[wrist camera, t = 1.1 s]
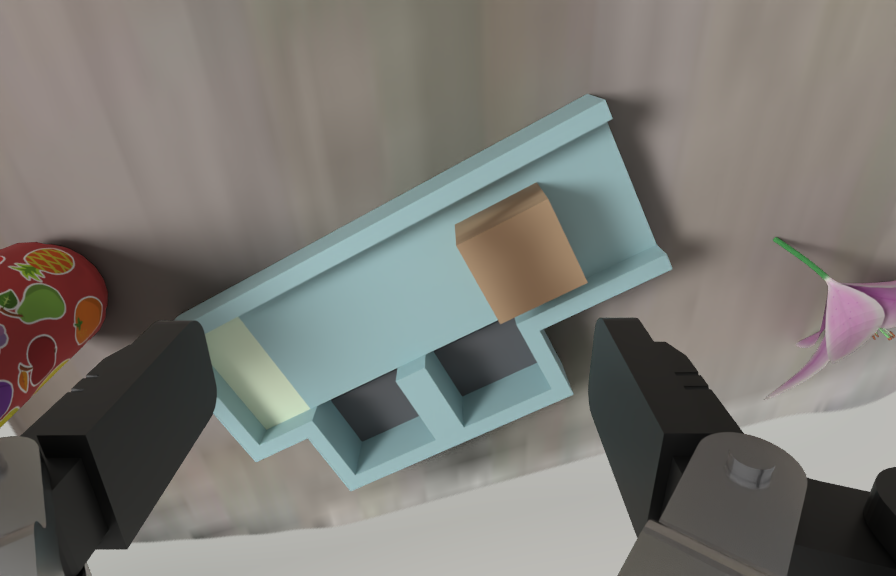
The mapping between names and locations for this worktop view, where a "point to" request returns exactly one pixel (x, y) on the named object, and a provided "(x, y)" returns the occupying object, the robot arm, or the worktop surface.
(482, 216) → the walnut block
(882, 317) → the lily
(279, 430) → the box
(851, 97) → the worktop surface
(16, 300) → the smoothie
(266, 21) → the worktop surface
